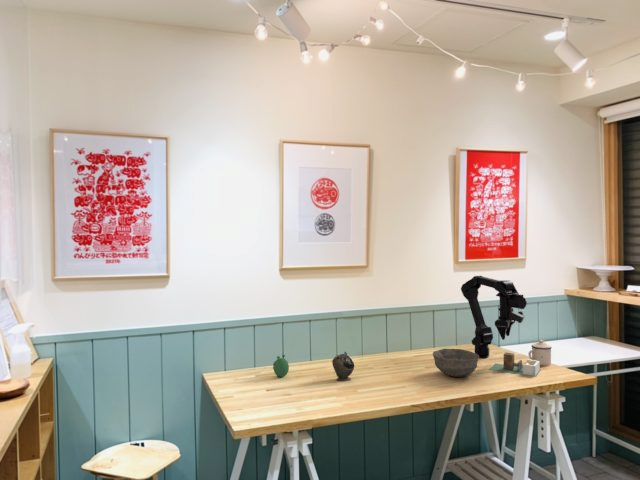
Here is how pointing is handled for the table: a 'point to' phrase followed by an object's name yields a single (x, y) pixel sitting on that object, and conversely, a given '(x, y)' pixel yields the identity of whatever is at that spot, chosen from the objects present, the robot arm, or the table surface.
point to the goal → (531, 367)
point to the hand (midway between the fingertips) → (505, 337)
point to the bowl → (455, 361)
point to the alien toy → (281, 366)
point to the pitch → (501, 369)
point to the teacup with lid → (541, 352)
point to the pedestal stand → (511, 362)
